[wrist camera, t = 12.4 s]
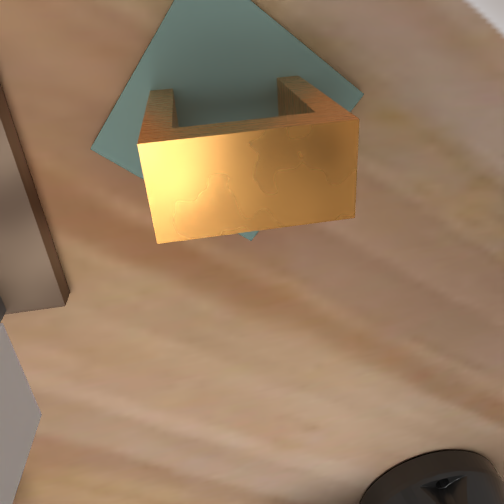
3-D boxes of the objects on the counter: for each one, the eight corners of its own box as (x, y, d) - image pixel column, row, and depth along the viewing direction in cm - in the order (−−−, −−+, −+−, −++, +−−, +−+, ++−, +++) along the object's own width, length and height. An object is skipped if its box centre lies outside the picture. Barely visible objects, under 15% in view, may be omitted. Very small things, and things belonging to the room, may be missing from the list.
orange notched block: (150, 90, 24) (137, 144, 16) (298, 75, 25) (359, 119, 17) (162, 163, 26) (157, 243, 18) (299, 147, 27) (354, 217, 19)
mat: (359, 91, 27) (364, 94, 26) (249, 235, 30) (251, 240, 30) (198, -42, 22) (198, -43, 22) (92, 144, 26) (90, 149, 25)
